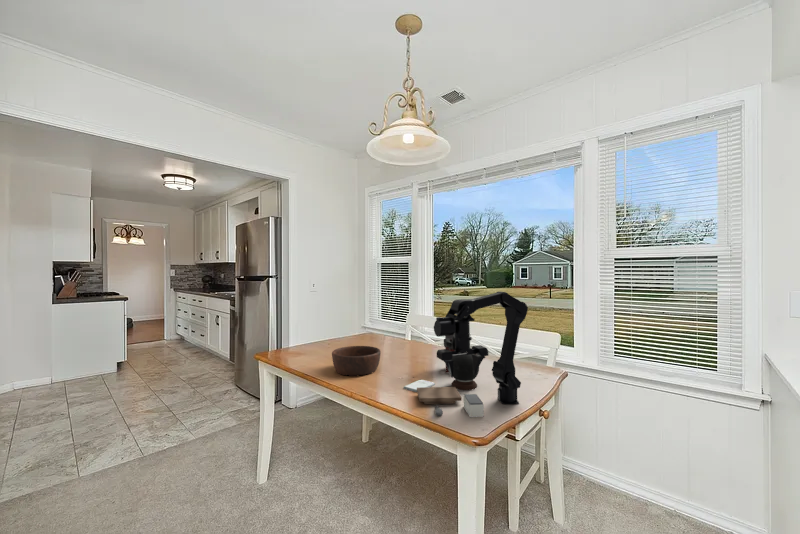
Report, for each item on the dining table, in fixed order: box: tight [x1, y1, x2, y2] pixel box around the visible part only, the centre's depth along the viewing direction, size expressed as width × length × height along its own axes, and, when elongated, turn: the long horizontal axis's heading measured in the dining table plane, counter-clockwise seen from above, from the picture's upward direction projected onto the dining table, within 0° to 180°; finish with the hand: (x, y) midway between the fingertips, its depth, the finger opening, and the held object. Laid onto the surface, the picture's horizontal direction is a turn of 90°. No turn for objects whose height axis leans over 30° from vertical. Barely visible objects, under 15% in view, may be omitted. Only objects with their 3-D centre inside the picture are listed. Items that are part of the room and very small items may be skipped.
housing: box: [463, 393, 485, 418], centre depth 126 cm, size 9×5×5 cm, turn 3°
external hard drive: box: [403, 379, 436, 393], centre depth 153 cm, size 2×8×12 cm
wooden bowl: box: [331, 345, 382, 377], centre depth 179 cm, size 25×25×10 cm
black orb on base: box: [451, 352, 480, 391], centre depth 154 cm, size 13×13×15 cm
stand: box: [416, 386, 462, 405], centre depth 137 cm, size 16×12×3 cm
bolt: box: [434, 404, 444, 417], centre depth 125 cm, size 6×3×3 cm, turn 2°
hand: (463, 375), depth 128 cm, fingers open, 9 cm apart
